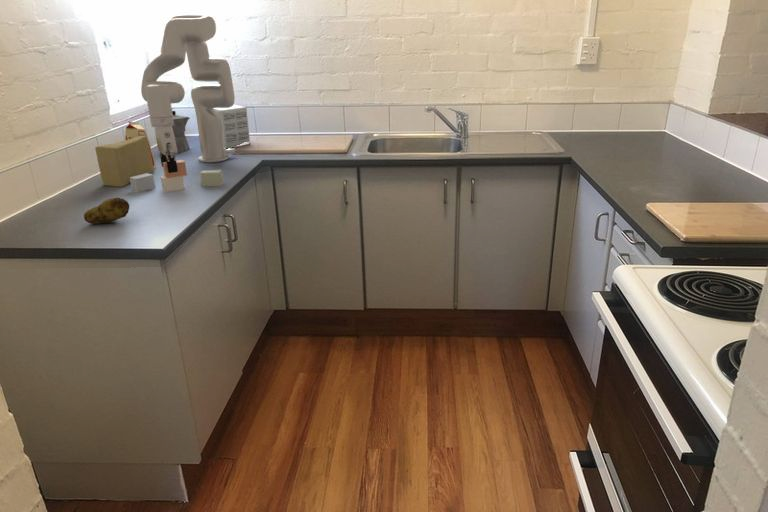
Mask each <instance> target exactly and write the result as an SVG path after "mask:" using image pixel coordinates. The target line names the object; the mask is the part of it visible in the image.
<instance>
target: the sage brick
mask: <svg viewBox="0 0 768 512" xmlns="http://www.w3.org/2000/svg"><path fill="white" fill-rule="evenodd" d="M199 174H200V175H199V176H200V182H201V187H216V186H217V187H220V186H222V185H223V183H224V178H223V170H222V169H213V170H212V169H211V170H210V169H209V170H201V171H200V173H199Z"/></svg>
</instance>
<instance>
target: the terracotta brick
mask: <svg viewBox="0 0 768 512" xmlns="http://www.w3.org/2000/svg"><path fill="white" fill-rule="evenodd" d="M162 163H163V167H162V168H163V174H164V175H163V176H165V177H166V178H172V177H178V176H183V177H184V176H188V173H187V167H186V161H185V160H183V159H178V160H177V159H176V163H177V169H178V172H173V173H169V172H168V168H167V162H162Z"/></svg>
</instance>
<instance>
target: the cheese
mask: <svg viewBox="0 0 768 512" xmlns="http://www.w3.org/2000/svg"><path fill="white" fill-rule="evenodd" d="M94 150H95V154H96V155H95V156H96V158H97V159H96V160H97V162H98V163H97V164H98V167H99V168H98V169H99V173H100V175H101V180H102V184H103V185H104V186H108V187H116V188H117V187H118V188H123V187H124V186H126V185H129V184H131V182H130V177H133V176H138V175H142V174H146V173H148V174H152V173H154V171H155V170H154V169H153V163H152V157H151V153H150V149H149V145H148V141H147V138H146V136H138V137H135V138H132V139H128V140H125V139H124V140H122V141H118V142H114V143H110V144H103V145H102V144H101V145H97V146H95V149H94Z"/></svg>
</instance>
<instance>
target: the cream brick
mask: <svg viewBox="0 0 768 512" xmlns="http://www.w3.org/2000/svg"><path fill="white" fill-rule="evenodd" d="M160 182H161V188H162V191H163V192H164V193H167V192H173V191H180V190H185V189H186V188H185V181H184V176H178V177H172V178H166V177H165V175H162V176H160Z"/></svg>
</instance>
